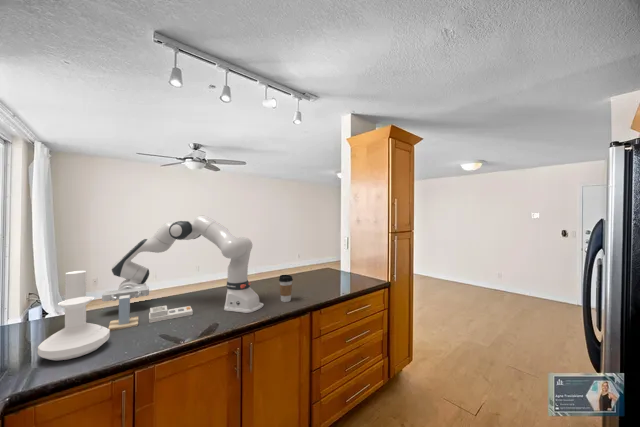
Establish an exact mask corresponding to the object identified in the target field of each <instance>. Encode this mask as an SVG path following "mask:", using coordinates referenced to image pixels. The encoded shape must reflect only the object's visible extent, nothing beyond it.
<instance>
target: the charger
mask: <svg viewBox="0 0 640 427" xmlns="http://www.w3.org/2000/svg"><path fill="white" fill-rule="evenodd" d="M130 312H131V299H130V295H126V296H120V297H119V299H118V320H119V325H122V324H127V323H129V321H130V318H131V317H130V316H131V313H130Z"/></svg>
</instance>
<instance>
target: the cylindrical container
mask: <svg viewBox="0 0 640 427" xmlns="http://www.w3.org/2000/svg"><path fill="white" fill-rule="evenodd" d="M64 277H65V282H64V284H65V285H64V286H65V289H64V292H65V293H64V297H65V298H64V300H68V299H72V298H78V297H87V271H86V270H75V271H69V272H67V271H66V272H65V276H64ZM66 316H67V308H64V328H65V327H66Z"/></svg>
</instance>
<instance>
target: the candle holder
mask: <svg viewBox="0 0 640 427" xmlns="http://www.w3.org/2000/svg"><path fill="white" fill-rule="evenodd" d="M94 299H95V296H86V297H78V298H72V299H68V300H65V299H64V300H62V301H60V302H58V303H57V305H58V306H60V307H63V308H64V309H65V308H67V316H66V327H65V326H64V327H63V328H62V329H60V330H58V331H57V332H55V333H53V334H52V335H50V336H48V337H47V338H46V339H45V340H43V341H42V342H41V343H40V344H39V345H38V346H37V355H38V356H39V357H40V358H43V359H46V360H51V361H57V362H58V361H63V360H64V361H66V360H71V359H75V358H79V357H82V356H84V355H88V354H90V353H92V352H94V351H96V350H98V349H99V348H100V347H101V346H102V345H104V343H106V342H107V341H109V339H110V336H111V331H110V329H108V328H107V327H106V326H103V325H101V324H95V323H92V322H91V323H90V322H87V305H88V304H90V303H91V302H92V301H93V300H94Z"/></svg>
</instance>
